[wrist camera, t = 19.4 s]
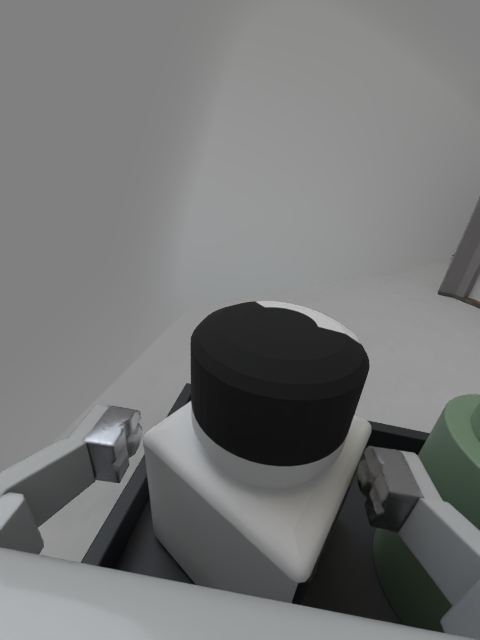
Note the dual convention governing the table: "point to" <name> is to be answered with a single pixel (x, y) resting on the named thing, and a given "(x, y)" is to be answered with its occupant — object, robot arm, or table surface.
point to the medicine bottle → (259, 449)
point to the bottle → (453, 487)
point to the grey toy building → (465, 265)
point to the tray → (336, 564)
